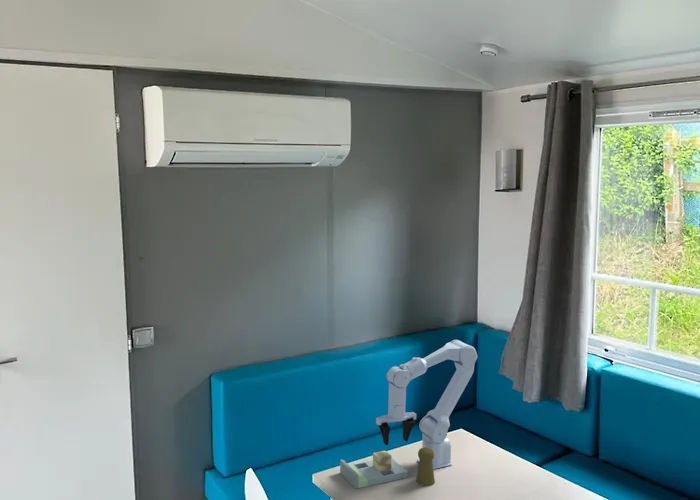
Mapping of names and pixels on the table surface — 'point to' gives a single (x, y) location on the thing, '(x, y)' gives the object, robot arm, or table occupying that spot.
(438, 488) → the table surface
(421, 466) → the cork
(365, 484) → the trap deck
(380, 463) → the beech block
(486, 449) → the table surface
